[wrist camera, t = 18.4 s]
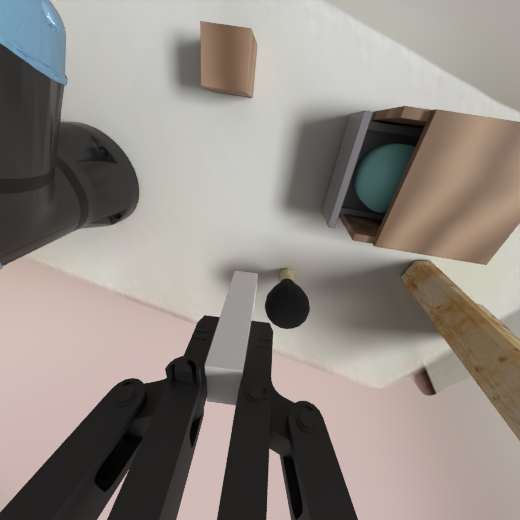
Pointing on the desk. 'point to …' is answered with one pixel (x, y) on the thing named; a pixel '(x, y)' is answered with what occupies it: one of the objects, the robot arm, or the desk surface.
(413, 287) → the tan piece
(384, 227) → the box
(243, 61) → the block
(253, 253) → the desk surface
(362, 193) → the teal rounded puck
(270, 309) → the light bulb
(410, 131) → the tray
